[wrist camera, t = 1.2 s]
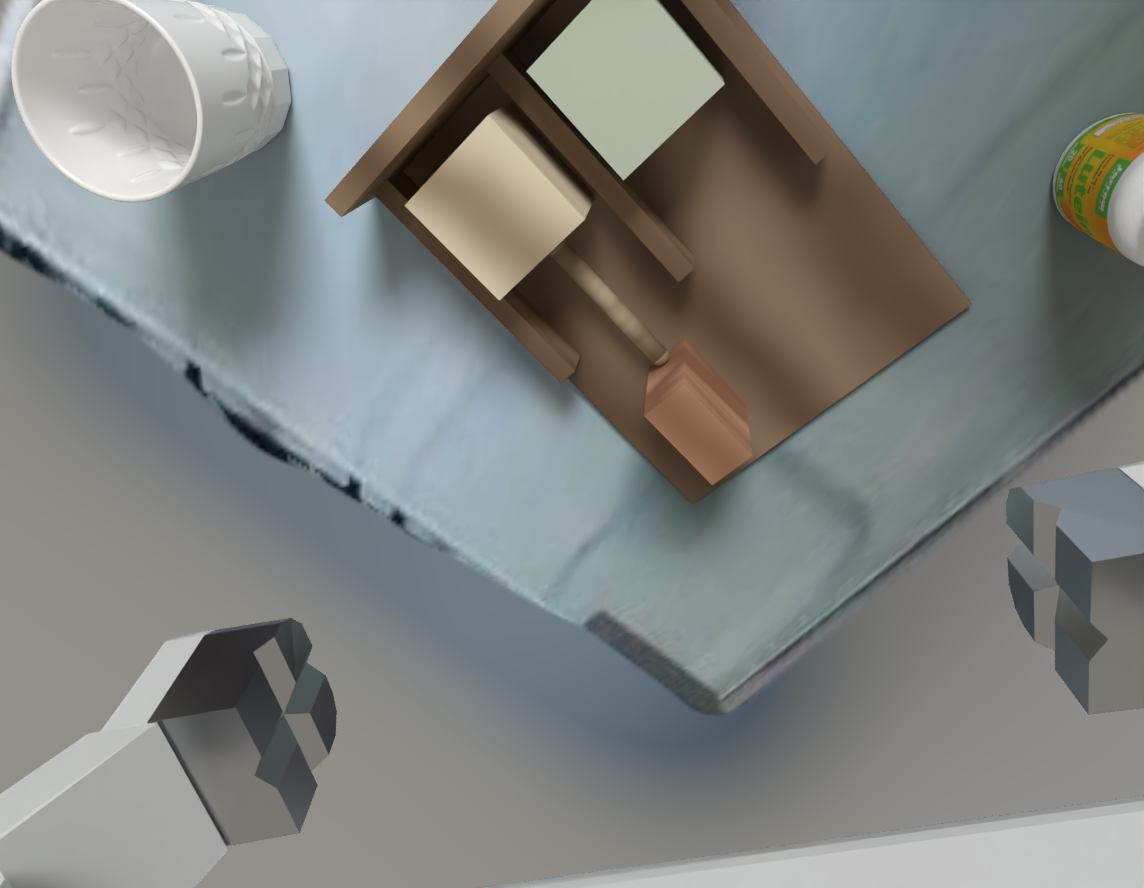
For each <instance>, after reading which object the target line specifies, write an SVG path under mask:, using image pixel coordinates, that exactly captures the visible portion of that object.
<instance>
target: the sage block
mask: <svg viewBox="0 0 1144 888" xmlns="http://www.w3.org/2000/svg"><path fill="white" fill-rule="evenodd" d="M526 72H527V73H528V74H529V75H530V76H531V77H532V78H533V80H534V81H535V82H536V83H537V84H538V85H539V86H540V87H541V89H542V90H543V91H544V92H545V93H546V94H547V95H548V96H549V98H550V99H551V100H552V101H553V102H554V103H555V104H556V105H557V106H558V108H559V109H560V110H561V111H562V112H563V113H564V114H565V115H566V117H567V118H568V119H569V120H570V121H571V122H572V123H573V124H574V125H575V127H576V128H577V129H578V130H579V131H580V132H581V133H582V134H583V136H584V137H585V138H586V139H587V140H588V141H589V142H590V143H591V145H592V146H593V147H594V148H595V149H596V150H597V151H598V152H599V153H600V155H601V156H602V157H603V158H604V159H605V160H606V161H607V162H608V164H609V165H610V166H611V167H612V168H613V169H614V170H615V171H616V172H617V174H618V175H619V176H620V177H621V178H622V179H623V180H624V179H626V178H627V177H628V176H629V175H630V174H631V173H632V172H633V171H634V170H635V169H636V168H637V167H638V166H639V165H640V164H641V163H642V162H643V161H644V160H646V159H647V158H648V157H649V156H650V155H651V154H652V153H653V152H654V151H655V150H656V149H657V148H658V147H659V146H660V145H661V144H662V143H663V142H664V141H665V140H667V139H668V138H669V137H670V136H671V135H672V134H673V133H674V132H675V131H676V130H677V129H678V128H679V127H680V126H681V125H682V124H683V123H684V122H685V121H687V120H688V119H689V118H690V117H691V116H692V115H693V114H694V113H695V112H696V111H697V110H698V109H699V108H700V107H701V106H702V105H703V104H704V103H705V102H707V101H708V100H709V99H710V98H711V97H712V96H713V95H714V94H715V93H716V92H717V91H718V90H719V89H720V88H721V87H722V86H723V85H724V84H725V83H724V81H723V78H722V75H721V74H720V73H719V72H718V70H717V69H716V68H715V67H714V66H713V64H712V63H711V62H710V61H709V59H708V58H707V57H706V56H705V55H704V53H703V52H702V51H701V50H700V49H699V47H698V46H697V45H696V44H695V43H694V41H693V40H692V39H691V38H690V36H689V35H688V34H687V33H686V32H685V30H684V29H683V28H682V27H681V26H680V24H679V23H678V22H677V21H676V19H675V18H674V17H673V16H672V15H671V13H670V12H669V11H668V10H667V9H666V7H665V6H664V5H663V4H662V2H661V1H660V0H591V2H590V3H589V4H588V5H587V6H586V7H585V8H584V9H583V10H582V11H581V12H580V14H579V15H578V16H577V17H576V18H575V19H574V20H573V21H572V22H571V23H570V24H569V25H568V27H567V28H566V29H565V30H564V31H563V32H562V33H561V34H560V35H559V36H558V37H557V38H556V40H555V41H554V42H553V43H552V44H551V45H550V46H549V47H548V48H547V49H546V50H545V51H544V53H543V54H542V55H541V56H540V57H539V58H538V59H537V60H536V61H535V62H534V63H533V64H532V66H531V67H530V68H529V69H528V70H527V71H526Z"/></svg>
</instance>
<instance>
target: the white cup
mask: <svg viewBox="0 0 1144 888" xmlns="http://www.w3.org/2000/svg"><path fill="white" fill-rule="evenodd" d="M11 76H12V85H13V91H14V95H15V99H16V103H17V106H18V109H19V112H20V115H21V117H22V119H23V122H24V124H25V126H26V128H27V130H28V132H29V133H30V135H31V137H32V139H33V140H34V142H35V143H36V145H37V146H38V148H39V149H40V150H41V152H42V153H43V154H44V155H45V157H46V158H47V159H48V160H49V161H50V162H51V163H52V164H53V165H54V166H55V167H56V168H57V169H58V170H59V171H60V172H61V173H62V174H63V175H65V176H66V177H67V178H68V179H70V180H71V181H72V182H74V183H75V184H77V185H78V186H80V187H82V188H83V189H85V190H87V191H89V192H91V193H93V194H95V195H98V196H101V197H103V198H107V199H110V200H115V201H120V202H144V201H149V200H153V199H156V198H159V197H161V196H164V195H166V194H168V193H170V192H172V191H174V190H177V189H179V188H181V187H183V186H185V185H188V184H190V183H192V182H195V181H197V180H199V179H201V178H204V177H206V176H208V175H210V174H213V173H215V172H217V171H219V170H221V169H223V168H224V167H226V166H229V165H231V164H233V163H235V162H237V161H238V160H240V159H242V158H243V157H245V156H246V155H248V154H250V153H252V152H255V151H257V150H259V149H261V148H263V147H264V146H265V145H266V144H267V143H268V142H269V141H270V140H272V139H273V138H274V137H275V136H276V135H277V134H278V133H279V132H280V131H281V130H282V129H283V126H284V123H285V119H286V116H287V113H288V110H289V107H290V104H291V93H290V84H289V75H288V68H287V66H286V64H285V62H284V60H283V58H282V56H281V54H280V53H279V51H278V49H277V47H276V45H275V43H274V41H273V39H272V38H271V36H269V35H268V34H267V33H266V32H265V31H264V30H262V29H261V28H260V27H259V26H258V25H257V24H256V23H254V22H253V21H252V20H251V19H250V18H249V17H247V16H246V15H245V14H242V13H238V12H235V11H231V10H228V9H224V8H221V7H218V6H214V5H204V4H202V3H197V2H192V1H186V0H43V1H41V2H40V3H39V4H37V5H36V6H35V7H34V8H33V9H32V10H31V11H30V12H29V14H28V15H27V16H26V18H25V19H24V21H23V22H22V24H21V26H20V28H19V30H18V33H17V35H16V38H15V42H14V46H13V51H12V60H11Z"/></svg>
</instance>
